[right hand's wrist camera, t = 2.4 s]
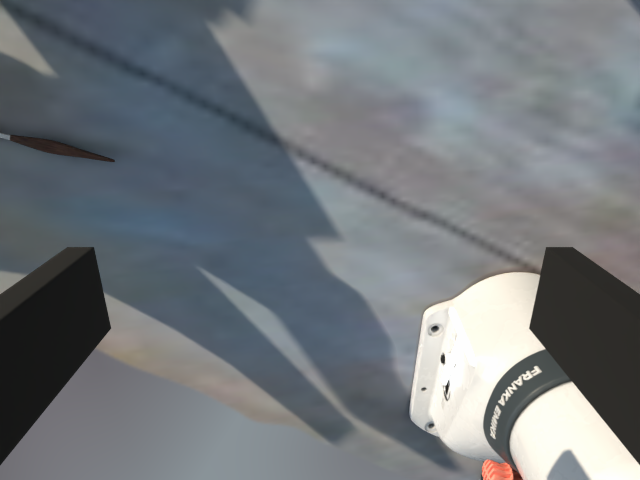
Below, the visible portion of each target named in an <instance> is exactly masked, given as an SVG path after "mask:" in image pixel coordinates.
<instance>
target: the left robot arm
mask: <svg viewBox="0 0 640 480" xmlns="http://www.w3.org/2000/svg"><path fill="white" fill-rule="evenodd" d="M539 279H540V275H538V274H534V273H527V272H511V273H504V274H499V275H496V276H492V277H489V278H487V279H485V280H482V281H480V282H478V283H476V284H475V285H473V286H472V287H470V288H469V289H467V290H466V291H464V292H463V293H462V294H460V295H459V296H457V297H456V298H454V299H452V300H449V301H446V302H442V303H439V304H436V305H434V306H431V307H430V308H428V309H427V310H426V311H425V313H424V315H423V320H422V327H421V334H420V340H419V347H418V354H417V360H416V367H415V374H414V380H413V387H412V394H411V400H410V407H409V415H410V418H411V420H412V421H413V422H414V423H415V424H416V425H417V426H418V427H420V428H421V429H423V430H424V431H426V432H428V433H430V434H433V435H435V436H438V437H440V438H441V440H442V441H443V443H444V444H445V445H446V446H447V447H449V448H450V449H451V450H453V451H455V452H456V453H458V454H460V455H463V456H465V457H468V458H471V459H475V460H478V461H483V462H484V464H483V467H482V471H483V473H482V475H481V480H640V465H639V464H638V462H637V461H636V460H635V459H634V457H633V456H632V455H631V454H630V453H629V451H628V450H627V449H626V448H625V446H624V445H623V444H622V443H621V441H620V440H619V439H618V438H617V436H616V435H615V434H614V433H613V432H612V430H611V429H610V428H609V427H608V425H607V424H606V423H605V422H604V420H603V419H602V418H601V417H600V415H599V414H598V413H597V412H596V411H595V409H594V408H593V407H592V406H591V404H590V403H589V402H588V401H587V399H586V398H585V397H584V396H583V394H582V393H581V392H580V391H579V390H578V388H577V387H576V386H575V385H574V383H573V382H572V381H571V380H570V378H569V377H568V376H567V375H566V373H565V372H564V371H563V370H562V369H561V367H560V366H559V365H558V364H557V362H556V361H555V360H554V359H553V357H552V356H551V355H550V354H549V352H548V351H547V350H546V349H545V347H544V346H543V345H542V344H541V343H540V341H539V340H538V339H537V338H536V336H535V335H534V334H533V333H532V331H531V330H530V329H529V326H530V321H531V317H532V312H533V307H534V302H535V298H536V293H537V288H538V284H539ZM433 326H437V328H435V329H431V328H432V327H433ZM431 423H433V424H431Z"/></svg>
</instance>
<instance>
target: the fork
mask: <svg viewBox="0 0 640 480" xmlns="http://www.w3.org/2000/svg"><path fill="white" fill-rule="evenodd" d="M0 138H4V139H7V140H10V141H13V142H16V143H19V144H22V145H25V146H28V147H31V148H34V149H37V150H40V151H44V152H47V153H52V154H58V155H66V156H74V157H82V158H89V159H95V160H102V161H109V162H115V160H113V159H110V158H107V157H104V156H101V155H97V154H94V153H91V152H88V151H84V150H81V149H78V148H75V147H72V146H69V145H66V144H63V143H60V142H56V141H52V140H47V139H40V138H33V137H24V136H16V135H8V134H3V133H0Z"/></svg>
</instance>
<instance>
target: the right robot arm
mask: <svg viewBox="0 0 640 480" xmlns="http://www.w3.org/2000/svg"><path fill="white" fill-rule="evenodd" d="M110 329H111V326H110V321H109V317H108V312H107V307H106V302H105V298H104V293H103V288H102V284H101V279H100V274H99V269H98V265H97V260H96V255H95V251H94V247H67V248H66V249H64V250H63V251H61V252H60V253H59V254H57V255H56V256H54V257H53V258H51V259H50V260H49V261H47V262H46V263H44V264H43V265H41V266H40V267H39V268H37V269H36V270H34V271H33V272H32V273H30V274H29V275H27V276H26V277H24V278H23V279H22V280H20V281H19V282H17V283H16V284H14V285H13V286H12V287H10V288H9V289H7V290H6V291H4V292H3V293H2V294H0V465H1V464H2V462H3V461H4V460H5V459H6V457H7V456H8V455H9V454H10V452H11V451H12V450H13V449H14V448H15V446H16V445H17V444H18V443H19V441H20V440H21V439H22V438H23V436H24V435H25V434H26V433H27V432H28V430H29V429H30V428H31V427H32V425H33V424H34V423H35V422H36V420H37V419H38V418H39V417H40V415H41V414H42V413H43V412H44V411H45V409H46V408H47V407H48V406H49V404H50V403H51V402H52V401H53V399H54V398H55V397H56V396H57V394H58V393H59V392H60V391H61V390H62V388H63V387H64V386H65V385H66V383H67V382H68V381H69V380H70V378H71V377H72V376H73V375H74V373H75V372H76V371H77V370H78V369H79V367H80V366H81V365H82V364H83V362H84V361H85V360H86V359H87V357H88V356H89V355H90V354H91V352H92V351H93V350H94V349H95V347H96V346H97V345H98V344H99V343H100V341H101V340H102V339H103V338H104V336H105V335H106V334H107V333H108V331H109V330H110ZM529 329H530V330H531V331H532V333H533V334H534V335H535V336H536V338H537V339H538V340H539V341H540V343H541V344H542V345H543V346H544V347H545V349H546V350H547V351H548V352H549V354H550V355H551V356H552V357H553V359H554V360H555V361H556V362H557V364H558V365H559V366H560V367H561V369H562V370H563V371H564V372H565V373H566V375H567V376H568V377H569V378H570V380H571V381H572V382H573V383H574V385H575V386H576V387H577V388H578V390H579V391H580V392H581V393H582V394H583V396H584V397H585V398H586V399H587V401H588V402H589V403H590V404H591V406H592V407H593V408H594V409H595V411H596V412H597V413H598V414H599V415H600V417H601V418H602V419H603V420H604V422H605V423H606V424H607V425H608V427H609V428H610V429H611V430H612V432H613V433H614V434H615V435H616V436H617V438H618V439H619V440H620V441H621V443H622V444H623V445H624V446H625V448H626V449H627V450H628V451H629V453H630V454H631V455H632V456H633V457H634V459H635V460H636V461H637V462H638V464H639V465H640V294H638V293H637V292H636V291H634V290H633V289H631V288H630V287H628V286H627V285H626V284H624V283H623V282H621V281H620V280H618V279H617V278H616V277H614V276H613V275H611V274H610V273H608V272H607V271H606V270H604V269H603V268H601V267H600V266H599V265H597V264H596V263H594V262H593V261H591V260H590V259H589V258H587V257H586V256H584V255H583V254H581V253H580V252H579V251H577V250H576V249H574V248H573V247H546V251H545V255H544V260H543V265H542V269H541V274H540V279H539V284H538V288H537V293H536V298H535V302H534V307H533V312H532V317H531V321H530V326H529Z"/></svg>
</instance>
